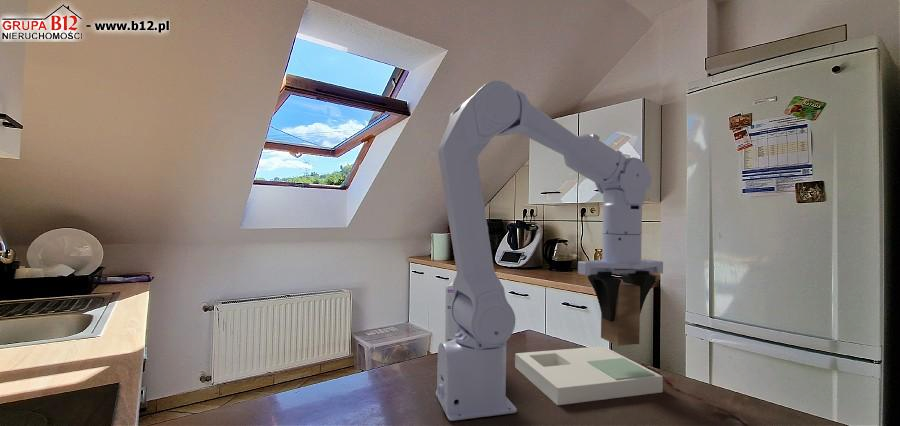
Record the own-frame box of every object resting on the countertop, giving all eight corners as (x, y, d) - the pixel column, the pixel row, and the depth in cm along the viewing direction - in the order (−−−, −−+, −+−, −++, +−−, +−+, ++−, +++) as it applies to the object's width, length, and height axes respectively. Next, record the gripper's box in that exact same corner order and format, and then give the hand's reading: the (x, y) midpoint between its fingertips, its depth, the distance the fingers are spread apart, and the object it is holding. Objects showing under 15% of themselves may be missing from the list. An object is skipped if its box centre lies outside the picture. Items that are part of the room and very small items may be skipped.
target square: (615, 379, 57) (615, 378, 57) (587, 362, 64) (587, 361, 64) (654, 375, 59) (654, 374, 59) (623, 359, 66) (623, 357, 66)
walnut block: (617, 345, 59) (618, 287, 59) (600, 337, 63) (601, 282, 63) (639, 343, 60) (640, 286, 61) (621, 336, 64) (622, 281, 64)
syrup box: (478, 372, 65) (479, 286, 65) (443, 369, 66) (445, 284, 66) (482, 360, 71) (483, 281, 71) (450, 357, 72) (451, 279, 72)
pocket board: (557, 405, 54) (557, 388, 54) (514, 367, 68) (515, 353, 68) (662, 392, 59) (662, 376, 59) (603, 358, 73) (603, 346, 73)
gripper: (598, 235, 56) (596, 328, 56) (679, 235, 60) (678, 323, 60) (570, 232, 63) (569, 316, 63) (645, 233, 67) (644, 312, 67)
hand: (620, 319), depth 62 cm, fingers closed on walnut block, 4 cm apart
